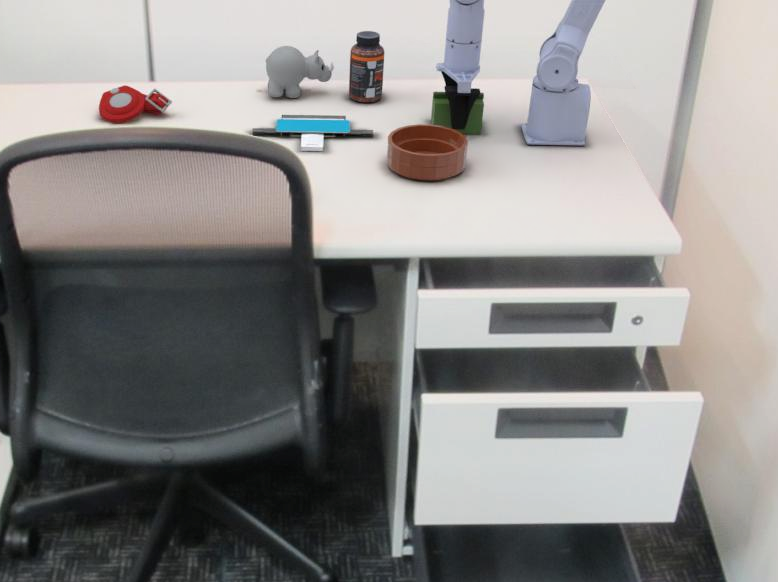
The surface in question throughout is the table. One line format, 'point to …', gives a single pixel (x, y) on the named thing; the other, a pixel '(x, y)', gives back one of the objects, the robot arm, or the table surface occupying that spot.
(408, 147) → the bowl
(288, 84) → the round bodied animal figurine
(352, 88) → the supplement bottle
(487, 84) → the table surface
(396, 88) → the table surface
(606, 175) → the table surface
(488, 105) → the table surface
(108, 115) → the tracker holder
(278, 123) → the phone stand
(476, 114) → the green block
